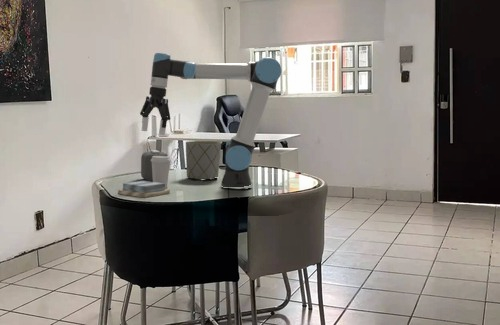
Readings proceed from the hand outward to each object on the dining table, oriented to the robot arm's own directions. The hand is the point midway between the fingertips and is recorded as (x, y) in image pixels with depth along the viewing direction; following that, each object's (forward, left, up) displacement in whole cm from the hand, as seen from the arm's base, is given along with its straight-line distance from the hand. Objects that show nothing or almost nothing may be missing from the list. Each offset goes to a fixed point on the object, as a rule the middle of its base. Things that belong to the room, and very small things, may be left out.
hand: (152, 133), depth 263 cm
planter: (+5, -47, -27) cm, 55 cm away
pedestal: (-6, +12, -26) cm, 29 cm away
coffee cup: (0, -6, -27) cm, 27 cm away
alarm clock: (+19, -23, -27) cm, 40 cm away
